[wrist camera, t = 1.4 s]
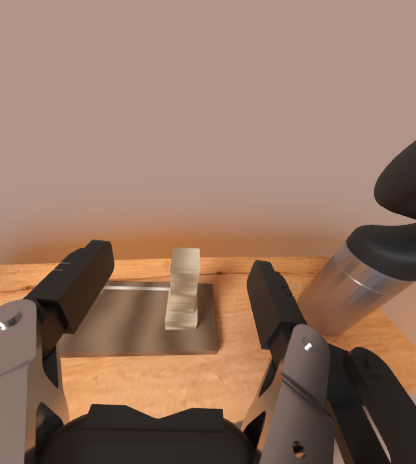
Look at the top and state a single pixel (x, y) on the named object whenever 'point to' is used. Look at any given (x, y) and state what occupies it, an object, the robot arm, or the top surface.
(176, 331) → the board
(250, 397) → the top surface
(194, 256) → the beige tall block
